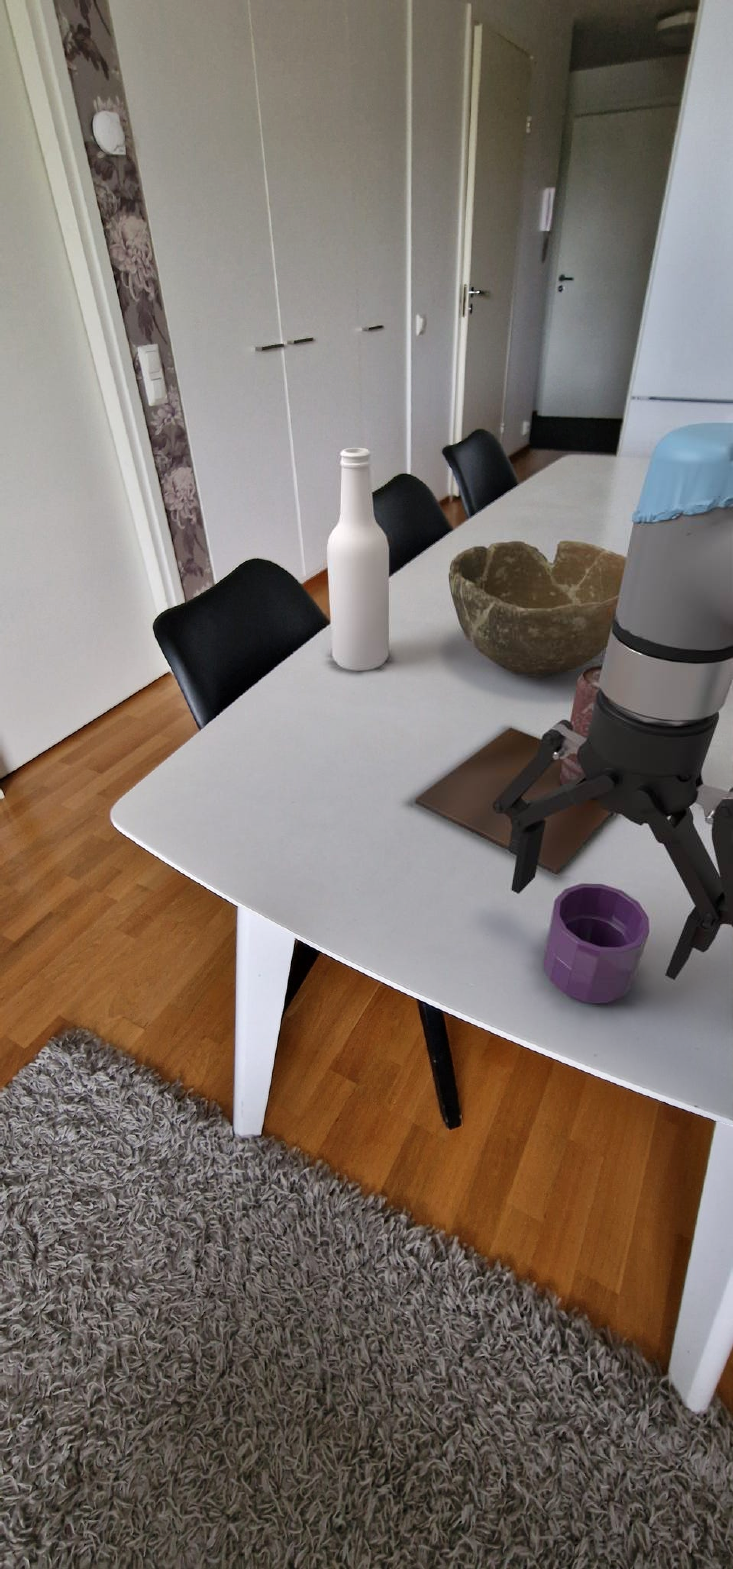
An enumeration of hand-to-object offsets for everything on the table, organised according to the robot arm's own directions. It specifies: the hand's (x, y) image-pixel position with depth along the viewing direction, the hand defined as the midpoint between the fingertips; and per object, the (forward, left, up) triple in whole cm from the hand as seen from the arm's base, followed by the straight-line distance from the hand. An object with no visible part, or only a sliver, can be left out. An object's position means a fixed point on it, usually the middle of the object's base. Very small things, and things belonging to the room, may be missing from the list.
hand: (594, 923), depth 58 cm
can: (+12, -24, -6) cm, 28 cm away
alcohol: (+55, -32, -6) cm, 64 cm away
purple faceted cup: (0, 0, -6) cm, 6 cm away
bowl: (+34, -48, -6) cm, 59 cm away
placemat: (+17, -19, -6) cm, 26 cm away
